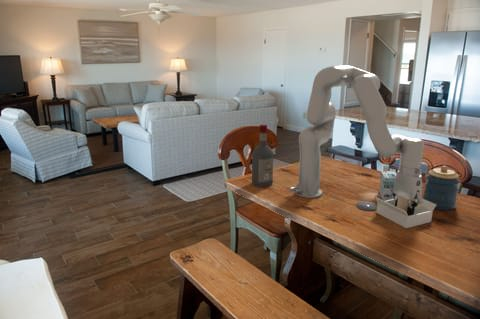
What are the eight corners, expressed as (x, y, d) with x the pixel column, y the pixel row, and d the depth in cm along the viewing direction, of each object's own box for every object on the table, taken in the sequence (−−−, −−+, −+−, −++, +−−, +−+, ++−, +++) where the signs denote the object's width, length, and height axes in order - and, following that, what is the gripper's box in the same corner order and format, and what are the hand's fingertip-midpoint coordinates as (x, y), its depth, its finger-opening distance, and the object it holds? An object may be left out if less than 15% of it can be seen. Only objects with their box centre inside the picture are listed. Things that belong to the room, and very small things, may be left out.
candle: (398, 213, 150) (401, 190, 147) (412, 217, 146) (416, 194, 143) (393, 217, 146) (396, 193, 143) (407, 221, 142) (410, 197, 139)
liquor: (275, 184, 182) (276, 125, 173) (260, 188, 177) (261, 127, 168) (264, 179, 189) (264, 122, 180) (249, 183, 184) (250, 124, 175)
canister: (416, 198, 164) (422, 161, 159) (445, 198, 164) (452, 161, 159) (430, 210, 152) (436, 170, 147) (461, 211, 151) (469, 170, 146)
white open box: (402, 229, 136) (405, 211, 134) (373, 213, 149) (375, 197, 147) (433, 221, 142) (436, 204, 140) (402, 206, 156) (405, 191, 154)
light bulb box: (397, 201, 161) (400, 178, 158) (381, 200, 162) (384, 177, 159) (393, 192, 171) (395, 171, 168) (378, 191, 172) (380, 170, 169)
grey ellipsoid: (365, 211, 151) (366, 210, 151) (352, 204, 158) (352, 203, 158) (380, 208, 154) (380, 206, 154) (367, 201, 161) (367, 200, 161)
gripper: (435, 175, 134) (428, 220, 139) (399, 162, 149) (393, 203, 154) (421, 178, 131) (414, 223, 136) (385, 165, 146) (380, 206, 151)
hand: (403, 212), depth 145 cm, fingers closed on candle, 5 cm apart
